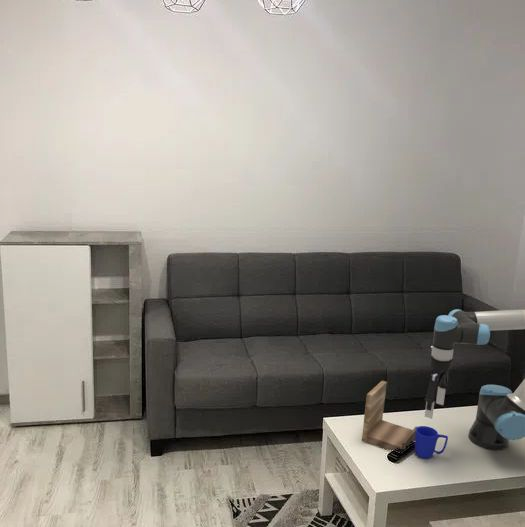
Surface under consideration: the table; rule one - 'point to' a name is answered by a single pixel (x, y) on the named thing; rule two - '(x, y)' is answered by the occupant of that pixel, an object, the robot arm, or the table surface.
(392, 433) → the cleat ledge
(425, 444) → the mug
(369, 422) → the wall board
